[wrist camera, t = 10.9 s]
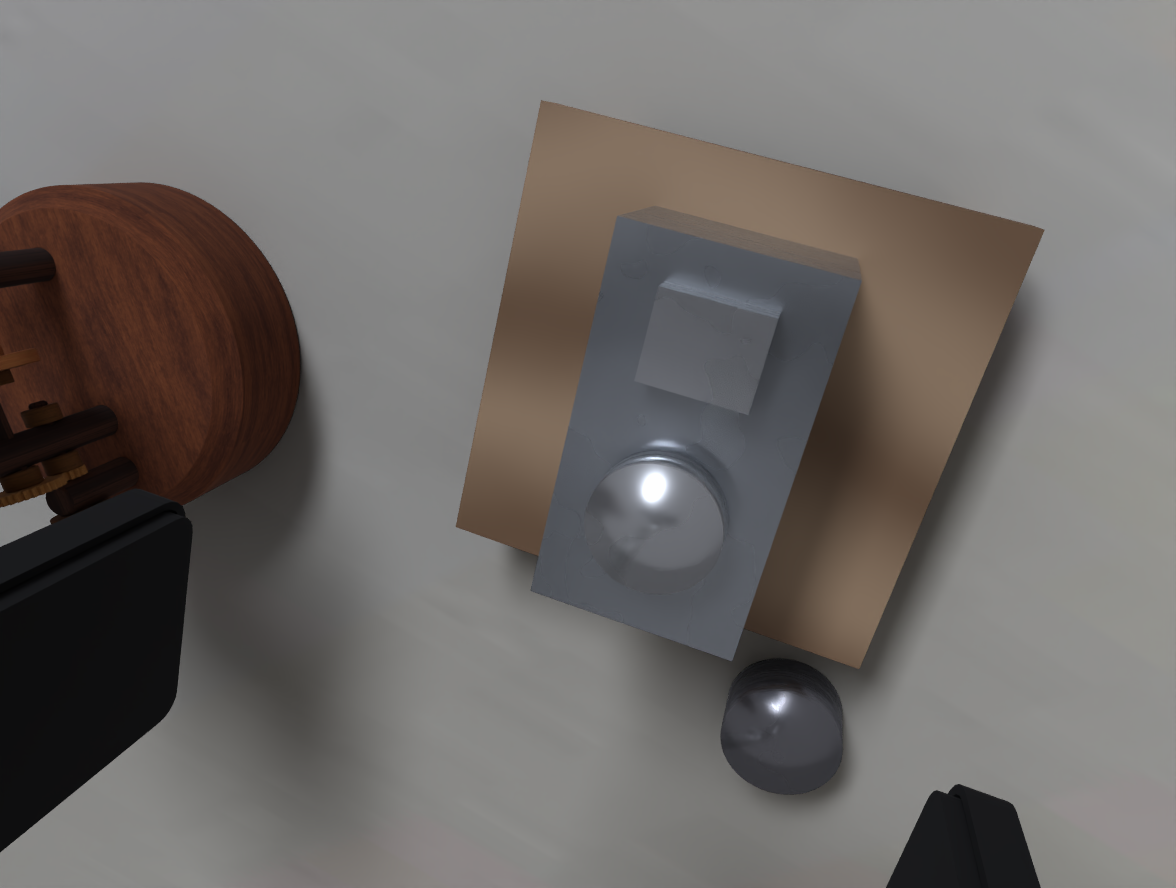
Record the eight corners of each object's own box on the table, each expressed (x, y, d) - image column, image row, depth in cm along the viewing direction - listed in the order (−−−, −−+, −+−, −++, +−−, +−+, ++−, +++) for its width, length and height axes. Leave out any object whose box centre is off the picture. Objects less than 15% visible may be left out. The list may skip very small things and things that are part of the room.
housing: (858, 258, 21) (863, 287, 16) (748, 583, 24) (726, 685, 19) (655, 205, 21) (604, 218, 17) (576, 526, 25) (516, 610, 20)
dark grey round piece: (820, 769, 29) (819, 811, 27) (714, 729, 29) (706, 767, 27) (858, 681, 27) (859, 718, 25) (747, 640, 28) (740, 674, 26)
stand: (857, 615, 26) (859, 669, 24) (492, 491, 28) (455, 526, 26) (1018, 221, 22) (1044, 230, 19) (574, 107, 24) (541, 100, 21)
